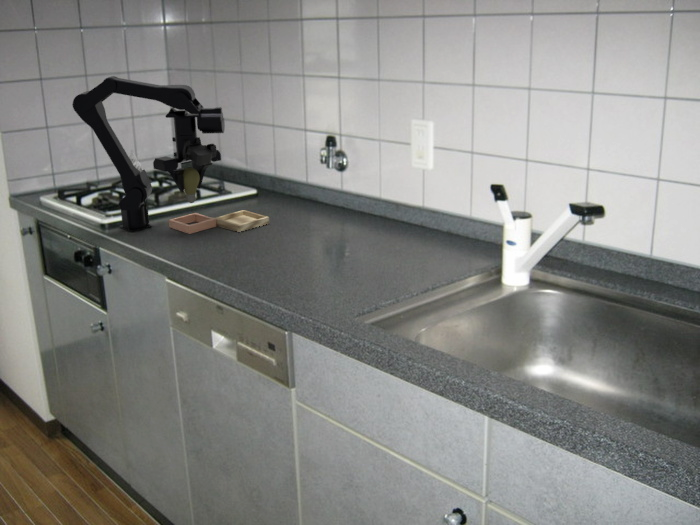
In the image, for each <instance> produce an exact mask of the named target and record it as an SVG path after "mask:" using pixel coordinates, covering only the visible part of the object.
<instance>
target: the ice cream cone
mask: <svg viewBox="0 0 700 525" xmlns="http://www.w3.org/2000/svg"><path fill="white" fill-rule="evenodd" d="M130 150H131V151H130V155H128V157H129V158H130V160H131V162H132V164H133V165H134V167H135V168H136V169H138V170H139V171H140V172H141V171H142V170H143V168H142V163H140V161H139V160H138V157H137V155H135V153H134V151H133V149H130Z"/></svg>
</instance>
